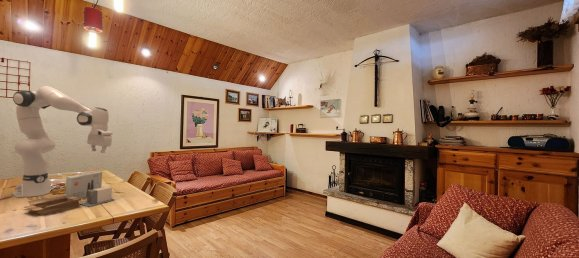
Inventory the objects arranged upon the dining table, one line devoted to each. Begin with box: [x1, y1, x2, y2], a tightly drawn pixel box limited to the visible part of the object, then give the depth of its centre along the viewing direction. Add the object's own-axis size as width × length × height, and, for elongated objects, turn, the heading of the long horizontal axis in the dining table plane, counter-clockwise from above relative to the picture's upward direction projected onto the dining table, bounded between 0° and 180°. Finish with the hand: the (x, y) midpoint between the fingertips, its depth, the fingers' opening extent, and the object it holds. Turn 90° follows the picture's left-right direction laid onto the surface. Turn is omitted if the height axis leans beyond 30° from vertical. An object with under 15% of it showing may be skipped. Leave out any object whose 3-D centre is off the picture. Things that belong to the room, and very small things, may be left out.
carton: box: [23, 193, 85, 216], centre depth 147 cm, size 19×23×5 cm
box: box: [86, 186, 113, 204], centre depth 161 cm, size 5×12×8 cm, turn 158°
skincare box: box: [65, 171, 103, 199], centre depth 170 cm, size 21×5×16 cm, turn 168°
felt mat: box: [79, 198, 116, 208], centre depth 160 cm, size 9×16×1 cm, turn 158°
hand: (98, 152), depth 167 cm, fingers open, 8 cm apart
